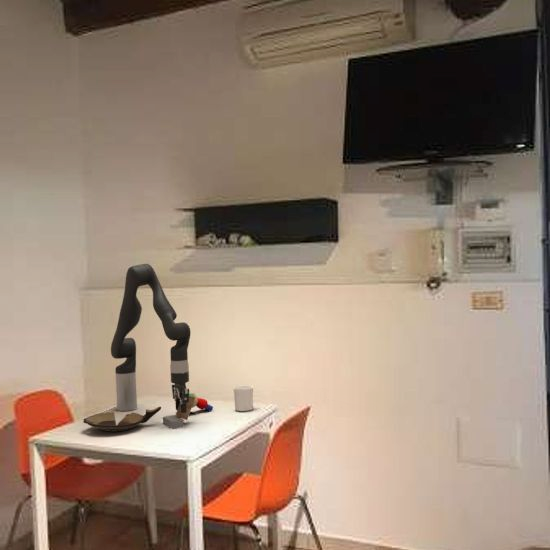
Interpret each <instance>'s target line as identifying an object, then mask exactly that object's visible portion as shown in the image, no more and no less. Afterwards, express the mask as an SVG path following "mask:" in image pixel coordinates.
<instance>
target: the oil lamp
mask: <svg viewBox="0 0 550 550" xmlns="http://www.w3.org/2000/svg"><path fill="white" fill-rule="evenodd" d="M161 409H162V407H161V406H157V407H156V408H154V409H148V408H146V409H145V414H143V415H142V414H141V413H137V412H131V413H127V414H126V415H124V417H123V418H122V419H121V420H120V421H119V422H118V423H116V422H117V421H116V415H115V413H114V412H113V411H111V412H109V411H107V412H100V413H96V414H93V415H89V416H87V417H85V418H83V421H82V423H83V424H87V425H88V426H90V427H93V428H95V429H98V430H103V431H106V432H121V431H125V430H129V429H133V428H134V427H136V426H137V425H140V424H146V423H147V422H148V421H149V420H150V419H152V417H154V416H155V415H156V414H158V412H160V411H161Z"/></svg>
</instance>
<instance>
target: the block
mask: <svg viewBox="0 0 550 550" xmlns="http://www.w3.org/2000/svg"><path fill="white" fill-rule="evenodd" d="M184 400H185V399H184ZM194 400H195V397H194V396H192V395H189V402H188V403H186V407H187V412H186V413H181V402H180V404H179V407H178V409H177V410H176V412H175V414H174V415H175V416H177V417H178V418H181V419H183V420H185V421H188V419H189V415H190V413H191V412H192V411H191V410H192V405H193V402H194Z"/></svg>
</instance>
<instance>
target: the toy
mask: <svg viewBox="0 0 550 550" xmlns="http://www.w3.org/2000/svg"><path fill="white" fill-rule="evenodd" d="M189 395H192V396H194V397H195V400H194V402H193V405H192V408H195V407H197V408H198V409H199V410H206V409H207V410H206V411H209V410H210V411H209V412H211V411H213V409H214V406H213V405H211V404H209V403H208V401H207V399H205V398H202V397H198V396H197V395H196V394H195V393H193V392H191V393H190V392H189ZM192 408H191V409H192ZM190 413H191V414H195V415H196V413H194V412H192V411H190Z"/></svg>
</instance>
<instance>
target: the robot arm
mask: <svg viewBox="0 0 550 550" xmlns="http://www.w3.org/2000/svg"><path fill="white" fill-rule="evenodd" d="M147 285H148V286H149V288H150V289H151V291H152V306H153V310H154V312H155V313H156V315H157V316H158V318H159V320H160V321H161V325H162V328H163V331H164V334H165V336H166V338H167V339H169V340H170V341H176V343H175V344H174V345H173V346H171V347H170V365H169V366H170V367H169V368H170V382H171V383H172V384H171V391H172V399H173V400H174V402H175V410H176V411H177V409H178V407H179V404H180V402H181V413H186V412H187V407H186V403H188V402H189V393H190V389H189V388H187V385H186V383H189V382H190V370H189V365H190V364H189V360H188V359H189V358H188V357H189V356H188V349H189V345H190V344H189V343H190V339H191V328H190V325H188V323H187V322H175V320H176V319H177V312H176V311H175V309H174V307H173V306H172V304H171V303H170V301H169V300H168V298H167V296H166V293H165V292H164V289H163V287H162V284H161V283H160V280H159V278H158V276H157V273H156V271H155V270H154V268H153V267H152V265H150V263H140V264H137V265H132V266H130V267H129V268H128V269H127V271H126V275H125V283H124V291H123V296H122V297H123V298H122V303H121V307H120V311H119V316H118V321H117V325H116V326H117V327H116V328H115V329H116V330H115V331H114V336H113V338H112V341H111V345H110V355H111V357H112V358H113V359H117V360H118V359H119V360H120V359H125V361H124V362H123V363H121V364H119V365H117V366H116V367H115V389H116V390H115V392H116V394H115V396H116V397H115V398H116V410H117V411H120V412H127V411H134V410H136V409H138V398H137V397H138V395H137V394H138V393H137V374H136V368H137V343H136V341H135V339H134V338H133V337H127V335H128V334H129V333H131V332H132V330H134V328H135V327H136V326H137V325H138V324H139V323H140V319H141V315H142V311H143V307H142V304H141V303H140V300H139V299H138V297H137V292H138V289H139V288H140V287H143V286H147ZM184 399H185V400H184Z"/></svg>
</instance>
